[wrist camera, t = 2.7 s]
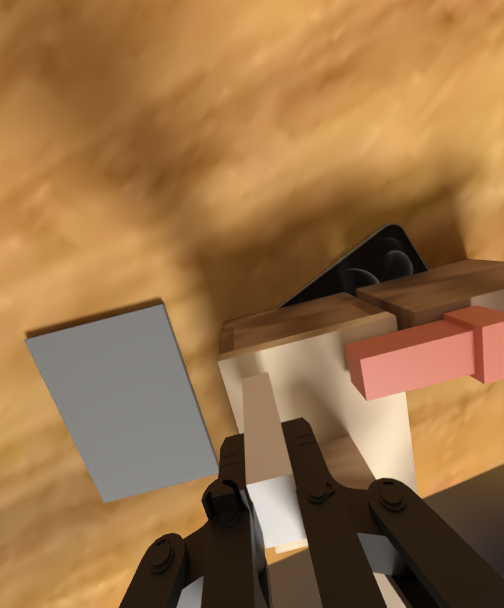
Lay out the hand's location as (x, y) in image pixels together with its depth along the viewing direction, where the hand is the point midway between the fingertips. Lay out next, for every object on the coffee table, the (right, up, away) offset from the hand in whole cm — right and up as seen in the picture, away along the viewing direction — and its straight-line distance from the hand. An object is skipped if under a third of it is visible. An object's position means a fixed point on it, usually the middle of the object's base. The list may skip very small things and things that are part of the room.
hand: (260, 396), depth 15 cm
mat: (-12, -5, +10) cm, 16 cm away
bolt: (+9, +3, +1) cm, 9 cm away
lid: (+5, -4, +5) cm, 8 cm away
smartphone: (+8, +5, +10) cm, 13 cm away
